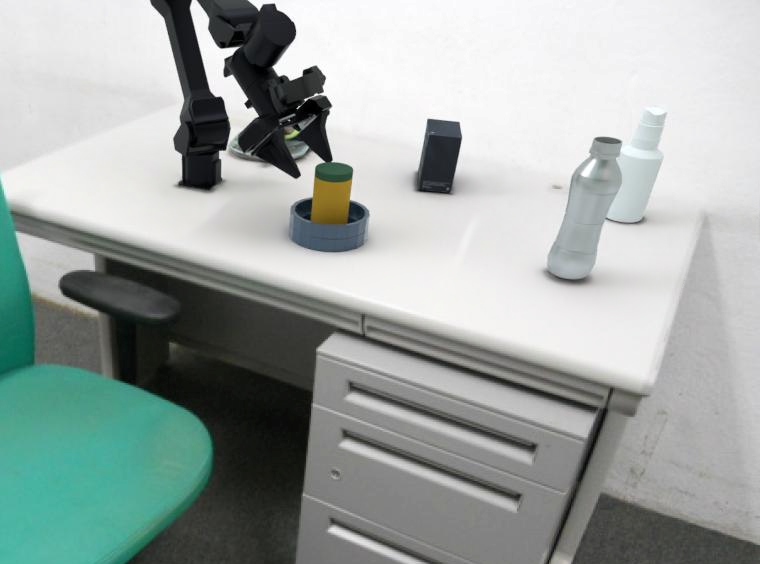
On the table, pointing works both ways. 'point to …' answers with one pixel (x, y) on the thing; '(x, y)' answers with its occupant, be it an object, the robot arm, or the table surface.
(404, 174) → the table surface
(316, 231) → the bowl
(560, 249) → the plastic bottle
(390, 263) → the table surface
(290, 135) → the salad plate
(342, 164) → the green-capped yellow cylinder
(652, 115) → the spray bottle
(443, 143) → the small box
